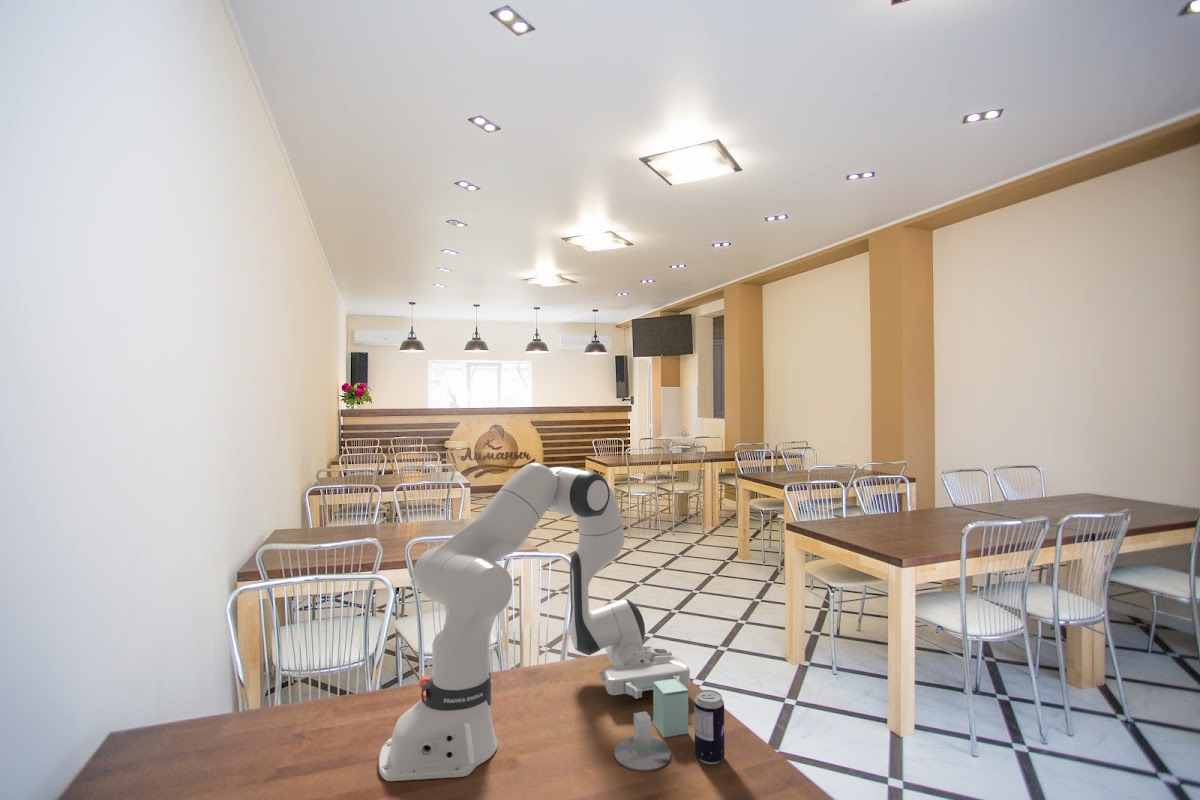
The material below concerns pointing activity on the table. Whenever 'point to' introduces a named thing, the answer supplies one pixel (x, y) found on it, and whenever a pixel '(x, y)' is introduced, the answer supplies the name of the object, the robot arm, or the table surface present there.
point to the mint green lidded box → (670, 707)
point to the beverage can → (709, 726)
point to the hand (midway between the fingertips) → (659, 692)
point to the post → (642, 747)
